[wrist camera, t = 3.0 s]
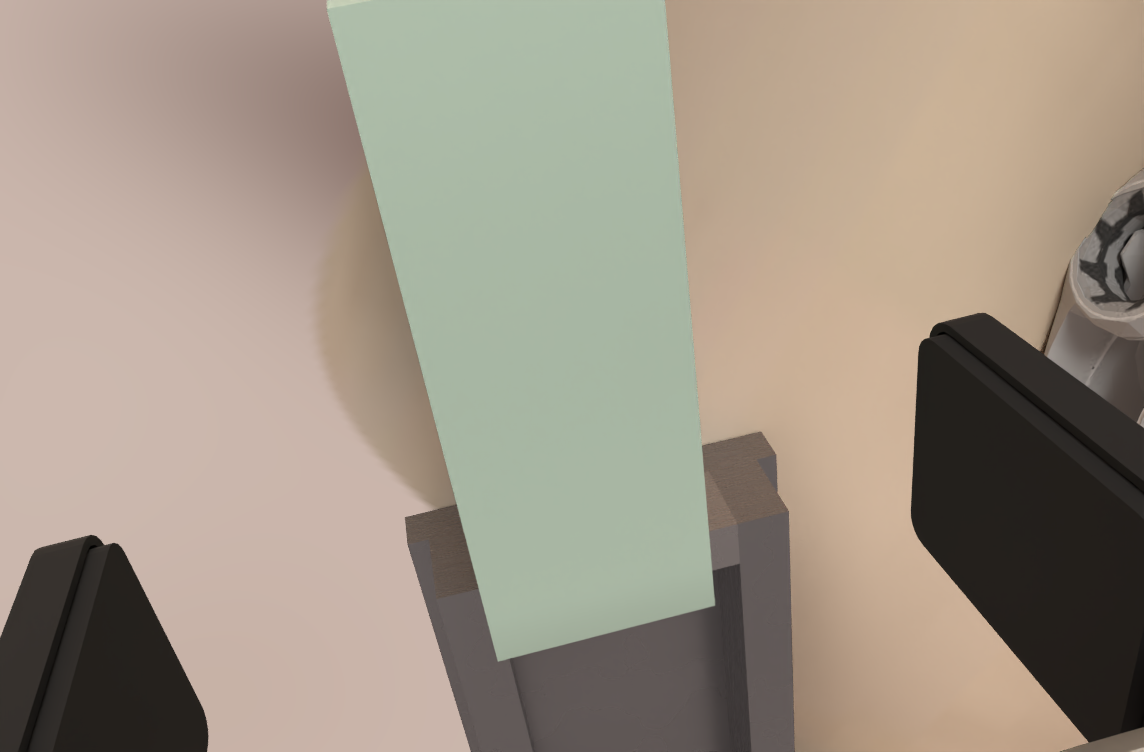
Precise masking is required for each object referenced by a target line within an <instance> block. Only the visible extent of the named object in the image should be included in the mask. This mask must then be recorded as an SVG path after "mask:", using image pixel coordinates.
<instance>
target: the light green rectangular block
mask: <svg viewBox="0 0 1144 752" xmlns="http://www.w3.org/2000/svg"><path fill="white" fill-rule="evenodd" d="M327 12H328V16H329V19H330V23H331V27H332V31H333V34H334V38H335V42H336V46H337V50H338V54H339V57H340V61H341V65H342V69H343V72H344V77H345V80H346V84H347V88H348V92H349V96H350V99H351V103H352V107H353V111H354V115H355V119H356V122H357V126H358V130H359V134H360V137H361V141H362V145H363V149H364V153H365V157H366V161H367V164H368V168H369V172H370V176H371V180H372V183H373V187H374V191H375V195H376V199H377V202H378V206H379V210H380V214H381V218H382V222H383V225H384V229H385V233H386V237H387V241H388V244H389V248H390V252H391V256H392V260H393V264H394V267H395V271H396V275H397V279H398V283H399V286H400V290H401V294H402V298H403V302H404V305H405V309H406V313H407V317H408V321H409V325H410V328H411V332H412V336H413V340H414V344H415V347H416V351H417V355H418V359H419V363H420V366H421V370H422V374H423V378H424V382H425V386H426V389H427V393H428V397H429V401H430V405H431V408H432V412H433V416H434V420H435V424H436V428H437V431H438V435H439V439H440V443H441V447H442V450H443V454H444V458H445V462H446V466H447V469H448V473H449V477H450V481H451V485H452V489H453V492H454V496H455V500H456V504H457V508H458V511H459V515H460V519H461V523H462V527H463V531H464V534H465V538H466V542H467V546H468V550H469V553H470V557H471V561H472V565H473V569H474V572H475V576H476V580H477V584H478V588H479V592H480V595H481V599H482V603H483V607H484V611H485V614H486V618H487V622H488V626H489V630H490V633H491V637H492V641H493V645H494V649H495V653H496V656H497V660H498V662H499V661H502V660H506V659H510V658H514V657H518V656H522V655H526V654H530V653H533V652H537V651H541V650H545V649H549V648H553V647H557V646H560V645H564V644H568V643H572V642H576V641H580V640H584V639H588V638H591V637H595V636H599V635H603V634H607V633H611V632H615V631H619V630H622V629H626V628H630V627H634V626H638V625H642V624H646V623H650V622H653V621H657V620H661V619H665V618H669V617H673V616H677V615H680V614H684V613H688V612H692V611H696V610H700V609H704V608H708V607H711V606H715V598H714V586H713V574H712V562H711V550H710V538H709V526H708V514H707V502H706V490H705V478H704V465H703V453H702V441H701V429H700V417H699V405H698V393H697V381H696V369H695V357H694V345H693V333H692V321H691V309H690V297H689V285H688V273H687V261H686V249H685V237H684V225H683V212H682V200H681V188H680V176H679V164H678V152H677V140H676V128H675V116H674V104H673V92H672V80H671V68H670V56H669V44H668V32H667V20H666V8H665V0H327Z"/></svg>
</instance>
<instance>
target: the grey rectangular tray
mask: <svg viewBox="0 0 1144 752" xmlns="http://www.w3.org/2000/svg"><path fill="white" fill-rule="evenodd" d="M702 453H703V465H704V478H705V490H706V502H707V514H708V526H709V538H710V550H711V562H712V574H713V586H714V598H715V606H711V607H708V608H704V609H700V610H696V611H692V612H688V613H684V614H680V615H677V616H673V617H669V618H665V619H661V620H657V621H653V622H650V623H646V624H642V625H638V626H634V627H630V628H626V629H622V630H619V631H615V632H611V633H607V634H603V635H599V636H595V637H591V638H588V639H584V640H580V641H576V642H572V643H568V644H564V645H560V646H557V647H553V648H549V649H545V650H541V651H537V652H533V653H530V654H526V655H522V656H518V657H514V658H510V659H506V660H502V661H499V662H498V660H497V656H496V653H495V649H494V645H493V641H492V637H491V633H490V630H489V626H488V622H487V618H486V614H485V611H484V607H483V603H482V599H481V595H480V592H479V588H478V584H477V580H476V576H475V572H474V569H473V565H472V561H471V557H470V553H469V550H468V546H467V542H466V538H465V534H464V531H463V527H462V523H461V519H460V515H459V511H458V508H457V505H455V506H450V507H446V508H442V509H438V510H434V511H430V512H426V513H421V514H417V515H413V516H409V517H405V521H406V532H407V543H408V547H409V550H410V554H411V557H412V560H413V564H414V567H415V570H416V573H417V577H418V580H419V583H420V586H421V590H422V593H423V596H424V599H425V603H426V606H427V609H428V613H429V616H430V619H431V622H432V626H433V629H434V632H435V635H436V639H437V642H438V645H439V648H440V652H441V655H442V658H443V661H444V664H445V667H446V671H447V675H448V678H449V681H450V684H451V688H452V691H453V694H454V697H455V701H456V704H457V707H458V711H459V714H460V717H461V720H462V724H463V727H464V730H465V733H466V736H467V740H468V743H469V746H470V750H471V752H795V751H794V710H793V669H792V628H791V587H790V546H789V511H788V509H787V508H786V506H785V505H784V503H783V501H782V500H781V498H780V497H779V495H778V493H777V464H776V454H775V452H774V451H773V449H772V448H771V446H770V445H769V443H768V441H767V440H766V438H765V437H764V435H763V434H762V432H758V433H754V434H749V435H745V436H741V437H737V438H733V439H729V440H725V441H720V442H716V443H712V444H708V445H704V446H702Z"/></svg>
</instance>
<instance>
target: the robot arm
mask: <svg viewBox="0 0 1144 752" xmlns="http://www.w3.org/2000/svg"><path fill="white" fill-rule="evenodd" d="M911 519H912V524H913V527H914V530H915V532H916V535H917V537H918V539H919V540H920V541H921V543H922V544H923V545H924V547H925V548H926V549H927V550H928V551H929V553H930V554H931V555H932V556H933V557H934V559H935V560H936V561H937V562H938V563H939V565H940V566H941V567H942V568H943V569H944V570H945V572H946V573H947V574H948V575H949V576H950V578H951V579H952V580H953V581H954V582H955V584H956V585H957V586H958V587H959V588H960V590H961V591H962V592H963V593H964V594H965V595H966V597H967V598H968V599H969V600H970V601H971V603H972V604H973V605H974V606H975V607H976V609H977V610H978V611H979V612H980V613H981V614H982V616H983V617H984V618H985V619H986V620H987V622H988V623H989V624H990V625H991V626H992V628H993V629H994V630H995V631H996V632H997V634H998V635H999V636H1000V637H1001V638H1002V639H1003V641H1004V642H1005V643H1006V644H1007V645H1008V647H1009V648H1010V649H1011V650H1012V651H1013V653H1014V654H1015V655H1016V656H1017V657H1018V659H1019V660H1020V661H1021V662H1022V663H1023V664H1024V666H1025V667H1026V668H1027V669H1028V670H1029V672H1030V673H1031V674H1032V675H1033V676H1034V678H1035V679H1036V680H1037V681H1038V682H1039V684H1040V685H1041V686H1042V687H1043V688H1044V689H1045V691H1046V692H1047V693H1048V694H1049V695H1050V697H1051V698H1052V699H1053V700H1054V701H1055V703H1056V704H1057V705H1058V706H1059V707H1060V708H1061V710H1062V711H1063V712H1064V713H1065V714H1066V716H1067V717H1068V718H1069V719H1070V720H1071V722H1072V723H1073V724H1074V725H1075V726H1076V728H1077V729H1078V730H1079V731H1080V732H1081V733H1082V735H1083V736H1084V737H1085V738H1086V739H1087V741H1088V742H1089V743H1086V744H1083V745H1080V746H1076V747H1073V748H1070V749H1067V750H1063V751H1060V752H1144V428H1143V427H1142V426H1141V425H1139V424H1138V423H1136V422H1135V421H1134V420H1132V419H1131V418H1130V417H1128V416H1127V415H1126V414H1124V413H1123V412H1121V411H1120V410H1119V409H1117V408H1116V407H1115V406H1113V405H1112V404H1111V403H1109V402H1108V401H1106V400H1105V399H1104V398H1102V397H1101V396H1100V395H1098V394H1097V393H1096V392H1094V391H1093V390H1091V389H1090V388H1089V387H1087V386H1086V385H1085V384H1083V383H1082V382H1081V381H1079V380H1078V379H1076V378H1075V377H1074V376H1072V375H1071V374H1070V373H1068V372H1067V371H1066V370H1064V369H1063V368H1061V367H1060V366H1059V365H1057V364H1056V363H1055V362H1053V361H1052V360H1051V359H1049V358H1048V357H1046V356H1045V355H1044V354H1042V353H1041V352H1040V351H1038V350H1037V349H1036V348H1034V347H1033V346H1031V345H1030V344H1029V343H1027V342H1026V341H1025V340H1023V339H1022V338H1021V337H1019V336H1018V335H1016V334H1015V333H1014V332H1012V331H1011V330H1010V329H1008V328H1007V327H1006V326H1004V325H1003V324H1001V323H1000V322H999V321H997V320H996V319H995V318H993V317H992V316H990V315H988V314H986V313H977V314H973V315H969V316H965V317H961V318H957V319H953V320H949V321H945V322H941V323H938V324H936V325H935V326H934V327H933V329H932V331H931V333H930V338H927V339H924V340H923V341H922V342H921V344H920V346H919V352H918V373H917V394H916V415H915V436H914V457H913V478H912V500H911ZM207 747H208V728H207V721H206V717H205V713H204V710H203V708H202V706H201V704H200V702H199V700H198V698H197V696H196V694H195V692H194V690H193V688H192V686H191V684H190V682H189V680H188V678H187V676H186V674H185V672H184V670H183V668H182V666H181V664H180V662H179V660H178V658H177V656H176V654H175V652H174V650H173V648H172V646H171V644H170V642H169V640H168V638H167V636H166V634H165V632H164V630H163V628H162V626H161V624H160V622H159V620H158V618H157V616H156V614H155V612H154V610H153V608H152V606H151V604H150V602H149V600H148V598H147V596H146V594H145V592H144V590H143V588H142V586H141V584H140V582H139V580H138V578H137V576H136V574H135V572H134V570H133V568H132V566H131V564H130V563H129V561H128V558H127V556H126V555H125V552H124V551H123V549H122V548H121V547H120V546H119V545H118V544H116V543H112V544H108V545H104V544H103V543H102V541H101V540H100V539H99V538H98V537H97V536H94V535H89V536H85V537H81V538H77V539H73V540H69V541H65V542H61V543H57V544H53V545H49V546H45V547H41V548H39V549H37V550H35V551H34V553H33V555H32V556H31V559H30V561H29V564H28V566H27V569H26V572H25V574H24V577H23V580H22V582H21V585H20V587H19V590H18V593H17V596H16V598H15V601H14V603H13V606H12V609H11V611H10V614H9V617H8V619H7V622H6V625H5V627H4V630H3V632H2V635H1V637H0V752H207Z"/></svg>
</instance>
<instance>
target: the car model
mask: <svg viewBox="0 0 1144 752" xmlns="http://www.w3.org/2000/svg"><path fill="white" fill-rule="evenodd" d="M1134 184H1135V185H1134ZM1131 185H1132V186H1131ZM1129 186H1130V187H1129ZM1114 195H1115V196H1114ZM1114 195H1113V197H1112V198H1111V200H1112V202H1110V203H1109V205H1108V207H1107V209H1106V210H1105V212H1104V213H1103V215H1102V216H1101V218H1100V220H1099V222H1098V223H1097V225H1096V227H1095V228H1094V230H1093V231H1092V232H1091V234H1090V235H1089V236H1088V237H1087V239H1086V237H1085V239H1084V240H1083V242H1082V243H1081V245H1080V246H1079V247H1078V249H1077V251H1076V252H1075V254H1074V255H1073V257H1072V258H1071V260H1070V263H1069V267H1068V271H1067V275H1066V279H1065V283H1064V287H1063V291H1062V296H1061V300H1060V303H1059V306H1058V309H1057V313H1056V316H1055V319H1054V323H1053V326H1052V329H1051V332H1050V336H1049V339H1048V342H1047V346H1046V349H1045V352H1044V355H1045V356H1046V357H1048V358H1049V359H1051V360H1052V361H1053V362H1055V363H1056V364H1057V365H1059V366H1060V367H1061V368H1063V369H1064V370H1066V371H1067V372H1068V373H1070V374H1071V375H1072V376H1074V377H1075V378H1076V379H1078V380H1079V381H1081V382H1082V383H1083V384H1085V385H1086V386H1087V387H1089V388H1090V389H1091V390H1093V391H1094V392H1096V393H1097V394H1098V395H1100V396H1101V397H1102V398H1104V399H1105V400H1106V401H1108V402H1109V403H1111V404H1112V405H1113V406H1115V407H1116V408H1117V409H1119V410H1120V411H1121V412H1123V413H1124V414H1126V415H1127V416H1128V417H1130V418H1131V419H1132V420H1134V421H1135V422H1136V423H1138V424H1139V425H1141V426H1142V427H1143V428H1144V168H1143V169H1142V170H1141V171H1140V172H1138V173H1137V174H1136V175H1135V176H1133V177H1132V178H1131V179H1130V180H1129V181H1128V182H1127V183H1126V184H1125V185H1124V186H1123V187H1121V188H1120V189H1119V190H1117V191H1116V192H1115V194H1114ZM1123 267H1124V268H1123ZM1076 291H1077V292H1076ZM1081 300H1082V301H1081ZM1080 303H1081V304H1080ZM1089 308H1090V309H1089ZM1095 312H1096V313H1095ZM1093 314H1094V315H1093ZM1100 314H1101V315H1100Z"/></svg>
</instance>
